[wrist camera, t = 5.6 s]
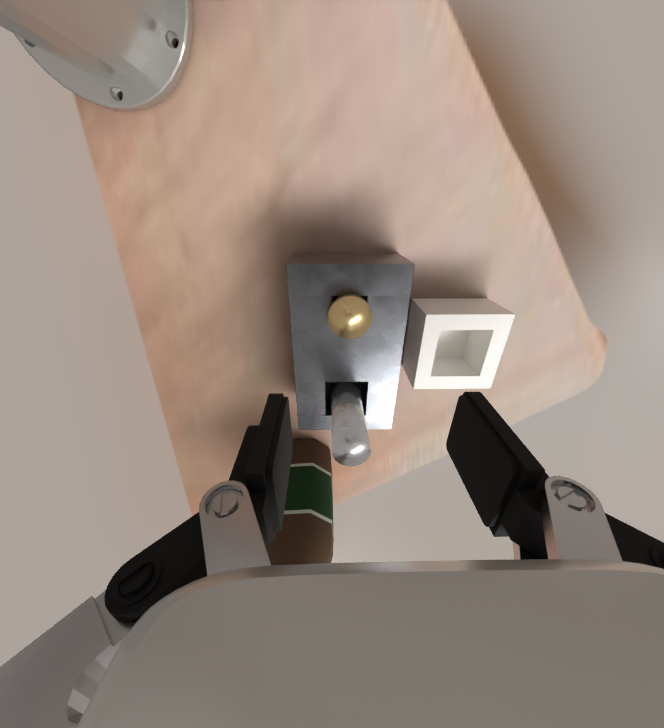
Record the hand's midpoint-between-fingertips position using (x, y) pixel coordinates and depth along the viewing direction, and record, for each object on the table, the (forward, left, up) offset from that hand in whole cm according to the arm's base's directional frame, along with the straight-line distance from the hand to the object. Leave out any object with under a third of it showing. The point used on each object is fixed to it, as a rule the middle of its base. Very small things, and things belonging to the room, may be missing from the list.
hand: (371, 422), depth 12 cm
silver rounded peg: (+9, 0, -19) cm, 21 cm away
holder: (+5, +11, -20) cm, 23 cm away
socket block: (+5, 0, -20) cm, 20 cm away
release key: (0, 0, -19) cm, 19 cm away
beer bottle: (+24, -5, -20) cm, 31 cm away
